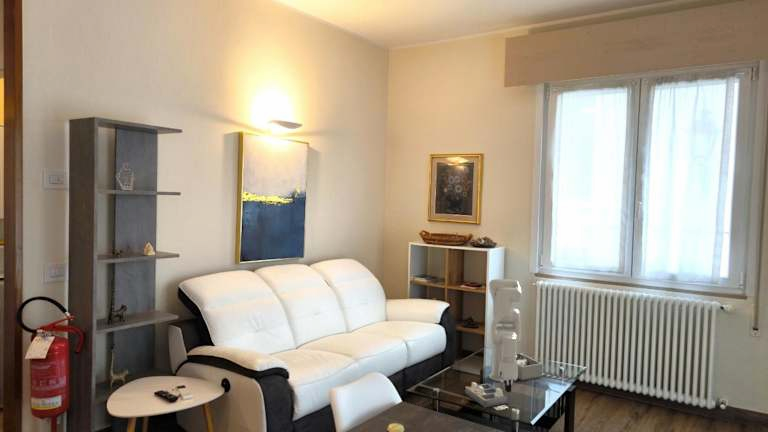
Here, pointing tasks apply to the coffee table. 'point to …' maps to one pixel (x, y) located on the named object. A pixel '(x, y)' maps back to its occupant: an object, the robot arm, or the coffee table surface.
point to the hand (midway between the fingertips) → (508, 391)
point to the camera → (522, 361)
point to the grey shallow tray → (487, 396)
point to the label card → (500, 407)
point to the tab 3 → (498, 393)
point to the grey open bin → (529, 368)
